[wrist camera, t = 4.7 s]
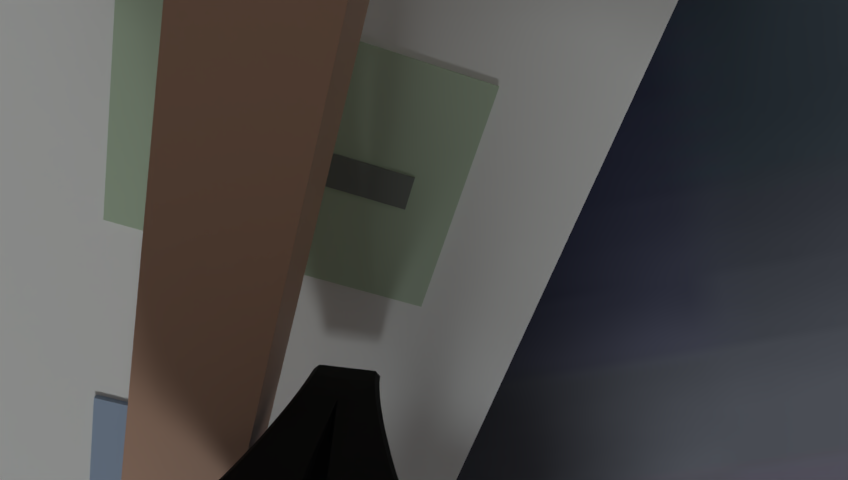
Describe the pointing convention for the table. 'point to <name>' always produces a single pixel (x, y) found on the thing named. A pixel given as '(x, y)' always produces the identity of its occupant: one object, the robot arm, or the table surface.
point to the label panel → (338, 216)
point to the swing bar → (229, 220)
